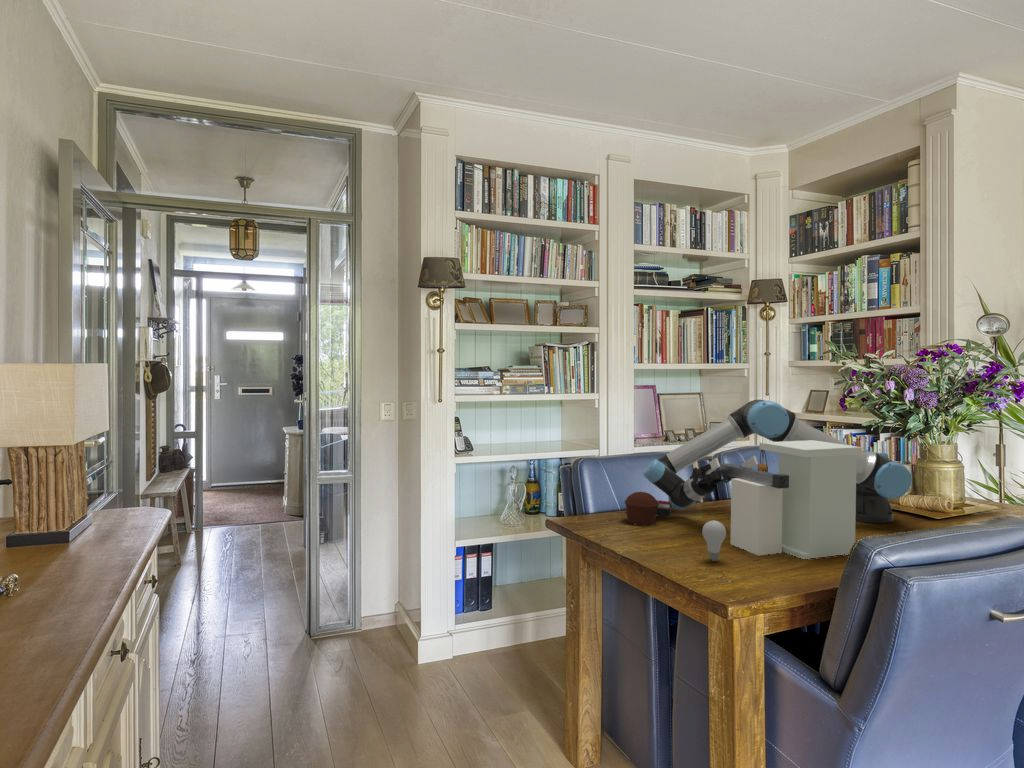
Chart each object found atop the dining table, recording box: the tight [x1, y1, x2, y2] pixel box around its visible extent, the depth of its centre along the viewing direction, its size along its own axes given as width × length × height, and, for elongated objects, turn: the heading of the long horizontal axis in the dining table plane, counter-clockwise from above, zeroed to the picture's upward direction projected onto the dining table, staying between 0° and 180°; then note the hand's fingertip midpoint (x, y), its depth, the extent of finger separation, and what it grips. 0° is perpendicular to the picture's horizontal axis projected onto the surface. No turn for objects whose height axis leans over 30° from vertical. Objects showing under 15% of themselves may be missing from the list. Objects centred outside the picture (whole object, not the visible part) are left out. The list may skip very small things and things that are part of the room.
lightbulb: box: [701, 519, 727, 562], centre depth 172 cm, size 6×6×11 cm
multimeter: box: [757, 449, 769, 472], centre depth 257 cm, size 15×10×20 cm
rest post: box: [730, 478, 783, 557], centre depth 184 cm, size 12×8×20 cm, turn 18°
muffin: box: [624, 491, 659, 526], centre depth 215 cm, size 12×11×10 cm
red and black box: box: [656, 499, 673, 517], centre depth 231 cm, size 11×4×15 cm
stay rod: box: [718, 462, 789, 489], centre depth 185 cm, size 26×3×3 cm, turn 18°
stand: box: [758, 440, 863, 560], centre depth 184 cm, size 18×20×30 cm
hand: (737, 461), depth 192 cm, fingers open, 13 cm apart
